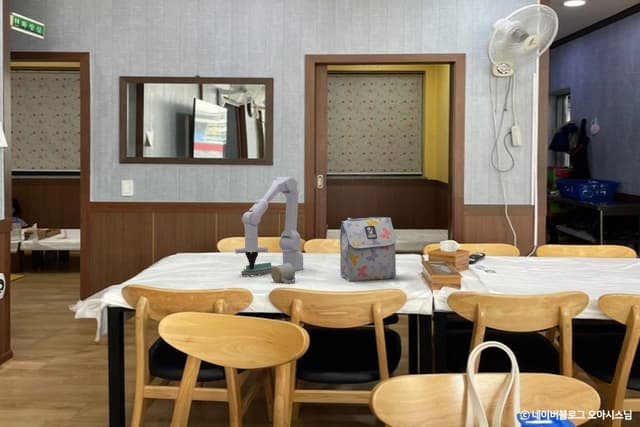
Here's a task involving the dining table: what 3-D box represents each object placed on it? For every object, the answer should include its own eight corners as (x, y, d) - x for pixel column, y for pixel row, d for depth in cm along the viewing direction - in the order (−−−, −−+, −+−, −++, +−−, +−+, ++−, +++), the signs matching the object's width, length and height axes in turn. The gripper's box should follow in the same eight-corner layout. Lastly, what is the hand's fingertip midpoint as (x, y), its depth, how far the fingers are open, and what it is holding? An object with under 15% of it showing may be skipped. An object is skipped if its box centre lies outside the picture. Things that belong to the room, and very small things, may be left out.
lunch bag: (348, 283, 297) (348, 220, 295) (337, 276, 313) (336, 217, 311) (398, 280, 303) (398, 218, 301) (384, 274, 319) (384, 215, 317)
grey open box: (270, 270, 331) (270, 266, 331) (278, 272, 327) (278, 268, 327) (241, 274, 320) (241, 271, 320) (249, 276, 315) (249, 272, 315)
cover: (271, 266, 331) (271, 261, 331) (278, 267, 327) (278, 262, 327) (243, 270, 320) (243, 265, 320) (249, 271, 317) (249, 266, 316)
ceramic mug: (269, 281, 301) (269, 263, 301) (284, 279, 307) (284, 261, 306) (285, 285, 294) (285, 267, 293) (300, 282, 299) (300, 264, 298)
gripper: (265, 237, 322) (266, 266, 323) (234, 238, 318) (234, 268, 319) (268, 238, 315) (268, 269, 316) (235, 240, 312) (236, 270, 313)
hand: (251, 268), depth 317 cm, fingers closed
